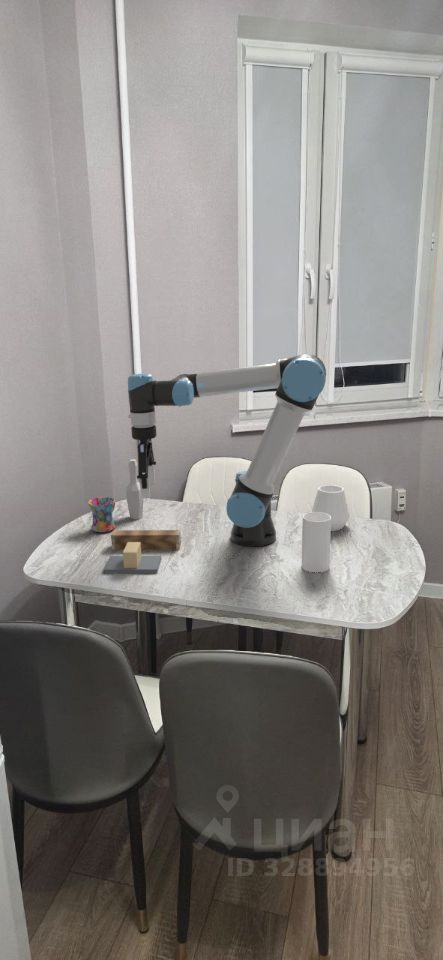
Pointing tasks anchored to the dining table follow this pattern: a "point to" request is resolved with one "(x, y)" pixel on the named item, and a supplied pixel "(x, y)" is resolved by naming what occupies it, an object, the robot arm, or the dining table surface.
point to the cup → (316, 542)
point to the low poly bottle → (134, 492)
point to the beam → (147, 539)
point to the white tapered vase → (332, 505)
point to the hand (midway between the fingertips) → (148, 491)
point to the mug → (102, 514)
